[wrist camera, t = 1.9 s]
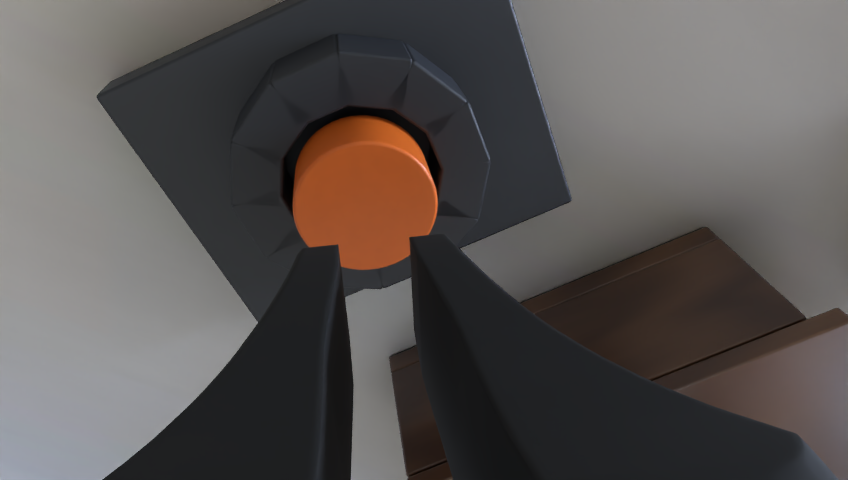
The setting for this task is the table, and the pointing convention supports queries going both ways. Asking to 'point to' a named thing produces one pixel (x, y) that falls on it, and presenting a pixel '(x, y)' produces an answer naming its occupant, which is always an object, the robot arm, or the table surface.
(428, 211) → the release button
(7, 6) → the table surface
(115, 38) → the table surface
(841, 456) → the lid
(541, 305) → the compartment
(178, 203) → the panel
